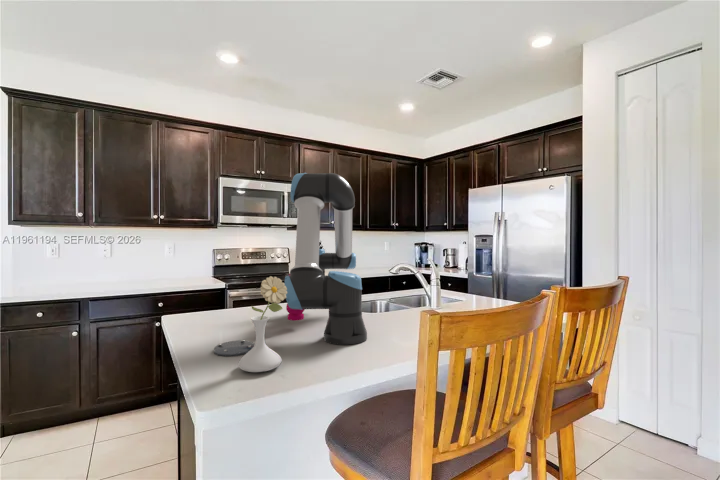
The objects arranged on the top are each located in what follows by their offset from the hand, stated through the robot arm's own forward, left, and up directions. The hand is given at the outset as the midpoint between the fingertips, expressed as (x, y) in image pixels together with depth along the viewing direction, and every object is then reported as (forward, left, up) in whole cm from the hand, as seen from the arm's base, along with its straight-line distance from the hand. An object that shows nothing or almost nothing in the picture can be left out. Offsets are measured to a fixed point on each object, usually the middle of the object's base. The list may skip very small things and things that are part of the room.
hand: (290, 292), depth 133 cm
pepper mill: (0, -5, -11) cm, 12 cm away
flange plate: (+10, +23, -15) cm, 29 cm away
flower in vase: (-6, +36, -15) cm, 39 cm away
